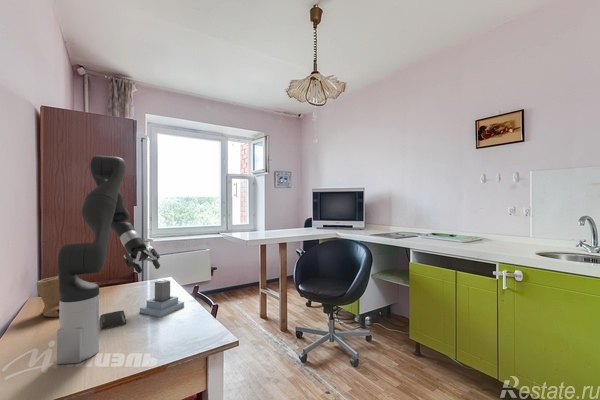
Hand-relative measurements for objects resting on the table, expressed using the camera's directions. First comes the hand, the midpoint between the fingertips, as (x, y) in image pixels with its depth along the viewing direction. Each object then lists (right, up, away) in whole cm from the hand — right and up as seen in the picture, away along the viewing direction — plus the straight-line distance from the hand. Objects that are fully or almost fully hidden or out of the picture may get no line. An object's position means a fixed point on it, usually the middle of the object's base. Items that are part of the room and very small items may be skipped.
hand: (149, 269), depth 119 cm
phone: (-6, -16, -14) cm, 23 cm away
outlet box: (+7, -16, -4) cm, 18 cm away
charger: (+7, -14, -4) cm, 16 cm away
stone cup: (-36, -16, -7) cm, 40 cm away
